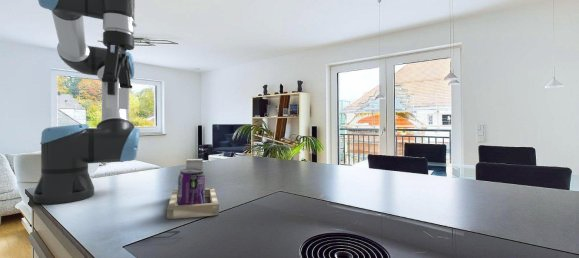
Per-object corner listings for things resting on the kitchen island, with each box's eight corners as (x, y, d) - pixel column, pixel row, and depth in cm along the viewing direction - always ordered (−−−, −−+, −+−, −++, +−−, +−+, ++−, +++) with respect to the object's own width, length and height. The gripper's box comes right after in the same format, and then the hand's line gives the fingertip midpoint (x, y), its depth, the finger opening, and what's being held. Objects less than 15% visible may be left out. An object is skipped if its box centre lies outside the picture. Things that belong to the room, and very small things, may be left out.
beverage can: (199, 217, 74) (200, 172, 74) (173, 216, 74) (174, 172, 74) (207, 208, 81) (208, 168, 81) (183, 208, 81) (184, 167, 81)
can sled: (173, 197, 91) (173, 159, 91) (213, 194, 95) (214, 158, 95) (166, 219, 71) (167, 171, 71) (218, 215, 75) (219, 169, 75)
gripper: (124, 21, 67) (123, 107, 68) (141, 45, 91) (140, 110, 91) (87, 16, 65) (87, 106, 65) (115, 42, 88) (114, 109, 89)
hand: (118, 108), depth 78 cm, fingers open, 13 cm apart
